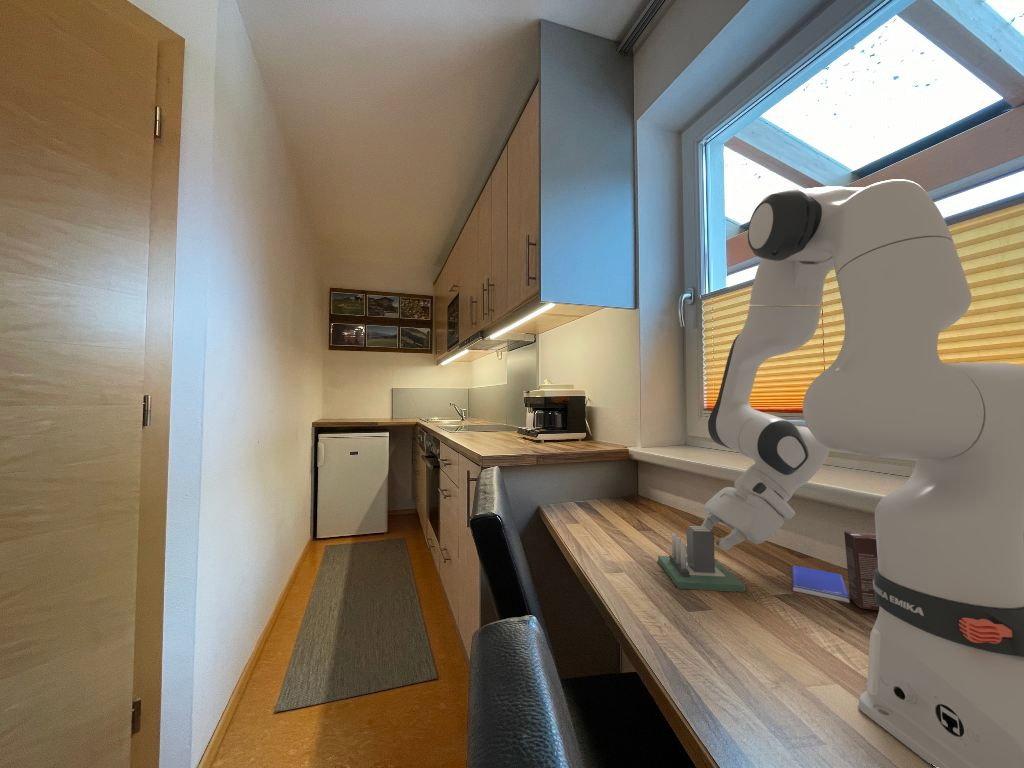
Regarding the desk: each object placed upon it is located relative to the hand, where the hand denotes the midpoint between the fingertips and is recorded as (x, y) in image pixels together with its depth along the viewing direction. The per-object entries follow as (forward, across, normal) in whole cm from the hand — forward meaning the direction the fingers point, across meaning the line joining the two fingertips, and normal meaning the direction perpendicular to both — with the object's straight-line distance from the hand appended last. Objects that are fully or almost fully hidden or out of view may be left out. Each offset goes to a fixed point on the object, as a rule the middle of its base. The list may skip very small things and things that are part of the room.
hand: (710, 540), depth 81 cm
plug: (+6, 0, +3) cm, 6 cm away
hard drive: (-8, +2, +19) cm, 21 cm away
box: (-11, +10, +22) cm, 26 cm away
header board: (+7, 0, +3) cm, 8 cm away
